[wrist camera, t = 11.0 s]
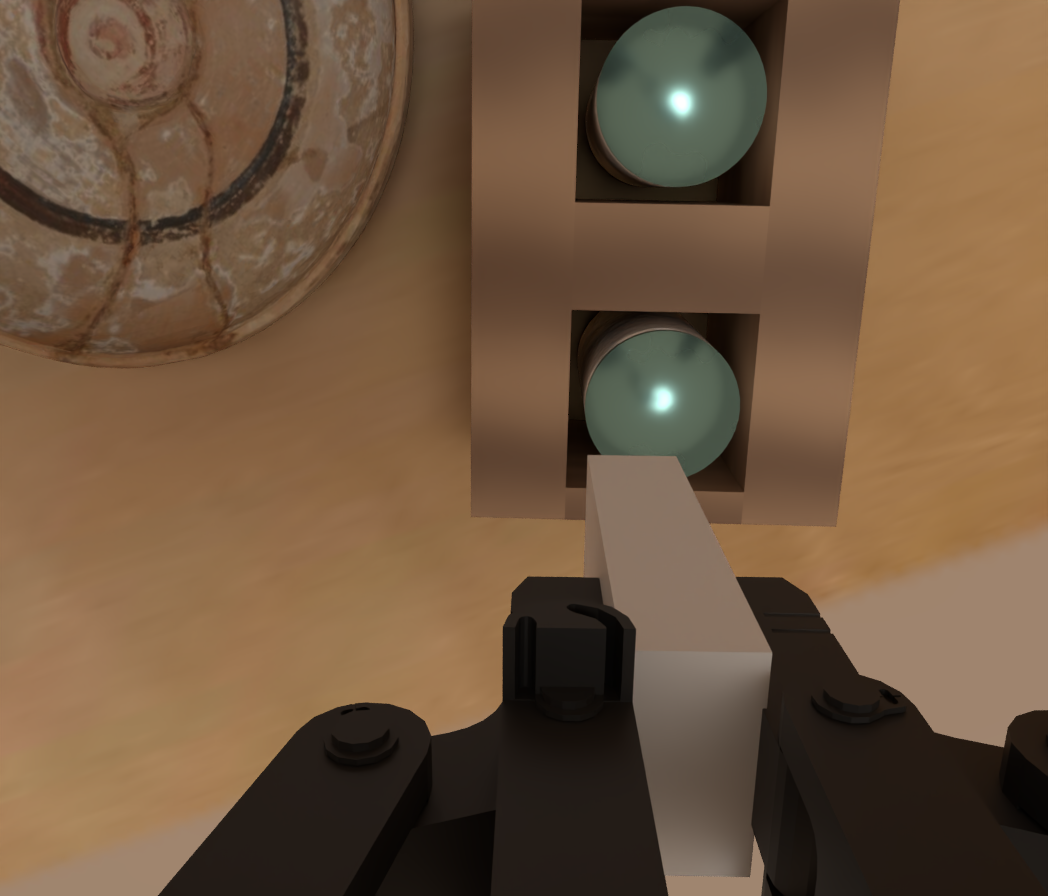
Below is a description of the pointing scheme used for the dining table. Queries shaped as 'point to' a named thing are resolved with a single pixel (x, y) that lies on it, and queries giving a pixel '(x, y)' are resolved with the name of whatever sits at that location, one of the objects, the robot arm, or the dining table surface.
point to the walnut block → (676, 253)
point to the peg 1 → (677, 99)
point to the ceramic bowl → (186, 165)
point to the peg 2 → (656, 388)
